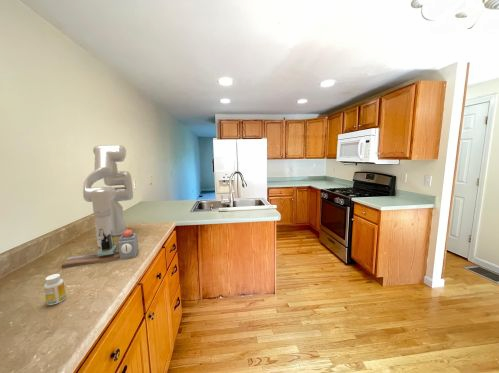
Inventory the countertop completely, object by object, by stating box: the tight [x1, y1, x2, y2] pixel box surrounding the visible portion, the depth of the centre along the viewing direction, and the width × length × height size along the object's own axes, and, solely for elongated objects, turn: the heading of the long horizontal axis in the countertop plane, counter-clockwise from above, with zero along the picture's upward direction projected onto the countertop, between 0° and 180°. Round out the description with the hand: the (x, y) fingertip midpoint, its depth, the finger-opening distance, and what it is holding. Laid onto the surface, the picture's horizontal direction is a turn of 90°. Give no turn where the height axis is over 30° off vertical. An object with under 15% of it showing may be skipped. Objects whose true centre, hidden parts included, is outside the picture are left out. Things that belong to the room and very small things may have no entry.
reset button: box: [122, 229, 133, 237], centre depth 114 cm, size 4×4×2 cm
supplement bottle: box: [43, 273, 67, 306], centre depth 79 cm, size 5×5×10 cm
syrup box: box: [95, 229, 114, 248], centre depth 127 cm, size 6×6×14 cm
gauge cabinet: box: [117, 232, 139, 260], centre depth 115 cm, size 11×7×10 cm, turn 18°
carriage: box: [96, 235, 118, 256], centre depth 112 cm, size 8×7×9 cm
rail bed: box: [61, 249, 121, 269], centre depth 111 cm, size 10×24×3 cm, turn 109°
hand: (107, 246), depth 112 cm, fingers closed on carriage, 3 cm apart
